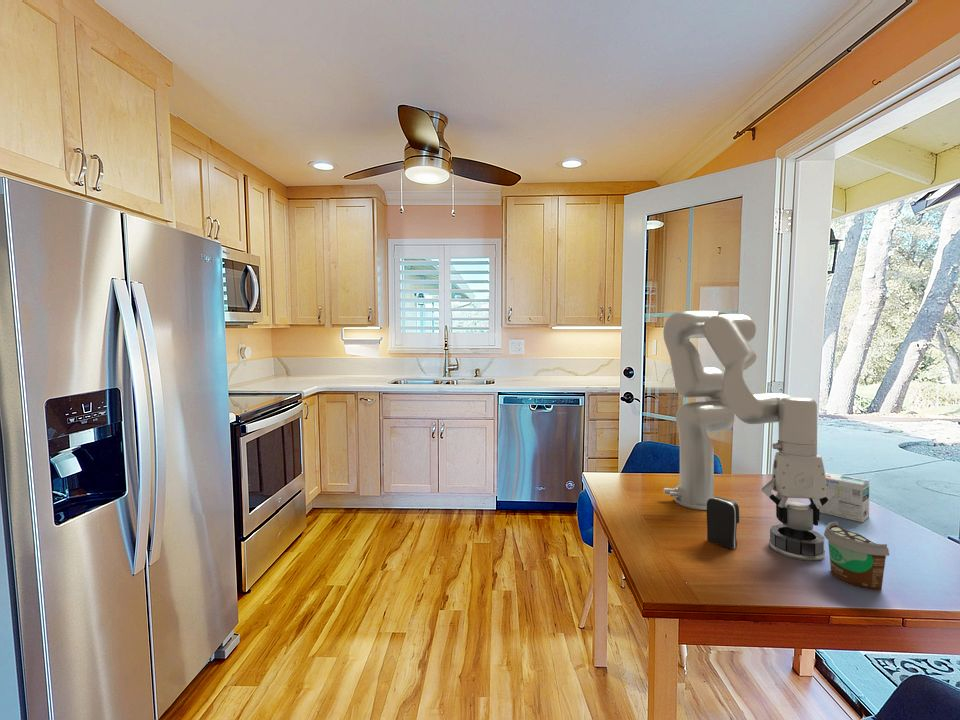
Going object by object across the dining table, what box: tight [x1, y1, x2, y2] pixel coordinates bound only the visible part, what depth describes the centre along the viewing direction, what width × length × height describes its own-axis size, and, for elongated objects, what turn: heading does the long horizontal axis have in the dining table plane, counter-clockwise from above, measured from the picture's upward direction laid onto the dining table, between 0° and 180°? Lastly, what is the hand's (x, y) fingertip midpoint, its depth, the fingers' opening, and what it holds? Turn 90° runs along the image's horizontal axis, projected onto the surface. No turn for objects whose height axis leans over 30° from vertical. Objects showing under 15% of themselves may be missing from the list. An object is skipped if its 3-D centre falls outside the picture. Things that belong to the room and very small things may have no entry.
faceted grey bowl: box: [769, 523, 826, 562], centre depth 108 cm, size 11×11×4 cm
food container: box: [823, 521, 890, 591], centre depth 95 cm, size 12×6×10 cm, turn 5°
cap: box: [782, 501, 814, 531], centre depth 107 cm, size 6×6×5 cm
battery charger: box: [706, 496, 740, 550], centre depth 112 cm, size 7×4×11 cm, turn 33°
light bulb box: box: [820, 471, 870, 523], centre depth 128 cm, size 11×7×11 cm, turn 37°
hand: (797, 521), depth 108 cm, fingers closed on cap, 5 cm apart
